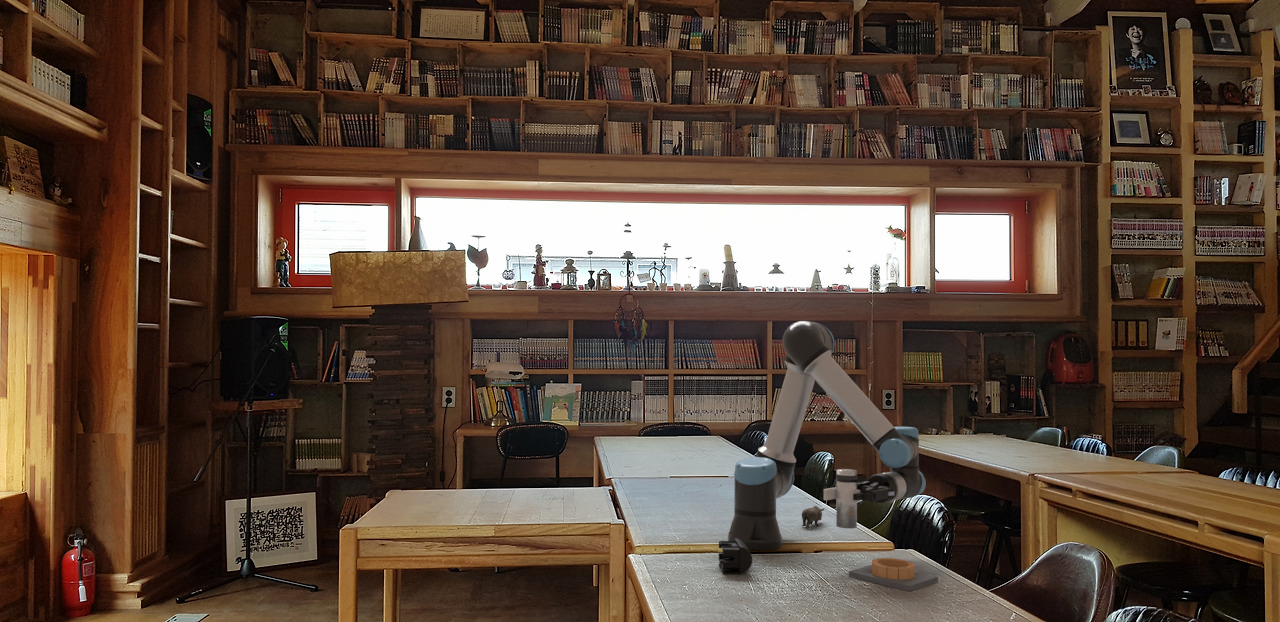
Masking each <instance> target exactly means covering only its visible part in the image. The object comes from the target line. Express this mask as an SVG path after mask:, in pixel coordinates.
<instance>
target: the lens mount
mask: <svg viewBox="0 0 1280 622" xmlns="http://www.w3.org/2000/svg"><path fill="white" fill-rule="evenodd" d="M915 566H916V564H915V563H913V562H911V561H909V560H906V559H905V560H904V559H901V558H892V557H881V558H880V557H878V558H875V559H872V560H871V564H869V565H866V566H863V567H859V568H855V569H853V570H851V569H850V570H849V571H848V577H850V578H855V579H859V580H863V581H866V582H869V583H874V584H879V585H882V586H886V587H890V588H894V589H897V590H902V591H905V590H906V592H912V591H915V590H917V589H920V588H923V587H927V586H930V585H933V584H935V583H938V582H939V576H937V575H933V574H929V573H924V572H920V571H916V567H915Z"/></svg>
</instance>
